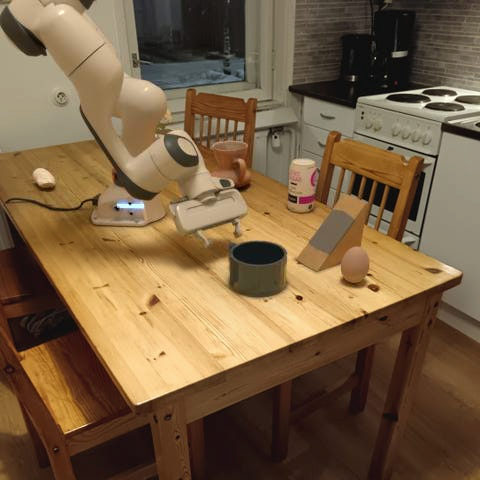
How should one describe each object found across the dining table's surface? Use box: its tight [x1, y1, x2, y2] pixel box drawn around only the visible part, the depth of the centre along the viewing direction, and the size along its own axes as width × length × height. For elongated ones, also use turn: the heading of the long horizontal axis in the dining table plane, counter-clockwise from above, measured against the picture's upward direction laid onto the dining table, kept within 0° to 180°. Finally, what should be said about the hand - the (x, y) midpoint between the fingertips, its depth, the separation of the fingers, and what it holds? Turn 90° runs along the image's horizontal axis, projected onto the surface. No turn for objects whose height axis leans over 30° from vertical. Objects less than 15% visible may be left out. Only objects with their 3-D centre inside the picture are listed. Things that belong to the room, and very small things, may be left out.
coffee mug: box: [228, 240, 288, 298], centre depth 120 cm, size 18×13×8 cm
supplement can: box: [287, 158, 318, 214], centre depth 157 cm, size 8×8×15 cm
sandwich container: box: [295, 192, 368, 272], centre depth 128 cm, size 9×15×15 cm, turn 124°
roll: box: [32, 167, 56, 189], centre depth 176 cm, size 6×12×6 cm, turn 32°
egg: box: [340, 246, 370, 284], centre depth 119 cm, size 7×7×9 cm
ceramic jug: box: [210, 140, 252, 189], centre depth 175 cm, size 18×14×14 cm
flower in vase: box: [155, 108, 173, 141], centre depth 185 cm, size 13×11×25 cm
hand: (224, 241), depth 125 cm, fingers open, 8 cm apart
